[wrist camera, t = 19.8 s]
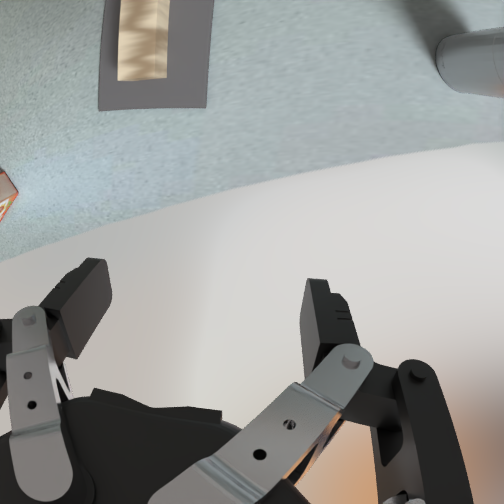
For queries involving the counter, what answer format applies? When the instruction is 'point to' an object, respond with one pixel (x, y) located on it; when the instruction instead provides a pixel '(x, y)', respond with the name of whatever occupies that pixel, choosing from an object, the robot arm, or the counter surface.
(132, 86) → the mat
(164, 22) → the wooden block
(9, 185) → the cracker box
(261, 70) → the counter surface
